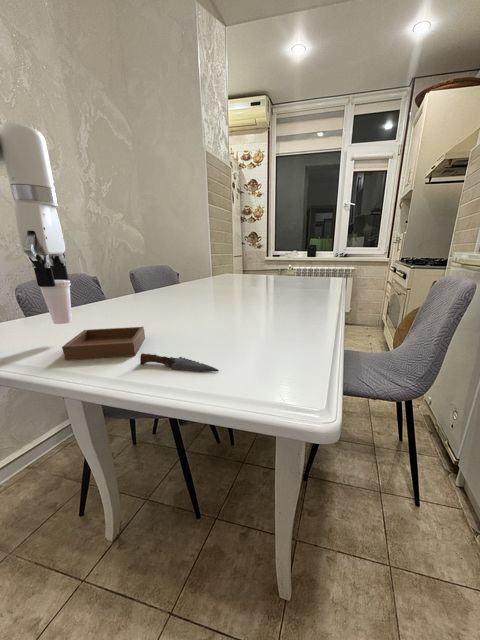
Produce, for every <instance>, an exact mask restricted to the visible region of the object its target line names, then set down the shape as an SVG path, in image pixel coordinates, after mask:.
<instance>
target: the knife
mask: <svg viewBox="0 0 480 640" xmlns="http://www.w3.org/2000/svg"><path fill="white" fill-rule="evenodd" d="M139 358H140V359H139V363H140V365H144V364H147V363H157V364H162V365H164V366H166V367H170V368H171V370H178V371H181V370H182V371H195V372H201V373H202V372H209V373H210V372H219V369H218V368H216V367H213V366H210V365H208V364H205V363H200V362H199V361H196V360H192V359H189V358H186V357H182V356H179V357H172V356H170V357H168V356H160V355H158V354H156V353H155V354H152V353H143V352H141V354H140V356H139Z"/></svg>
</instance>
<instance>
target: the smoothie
mask: <svg viewBox="0 0 480 640" xmlns="http://www.w3.org/2000/svg"><path fill="white" fill-rule="evenodd" d="M49 268H50V266H49ZM54 281H55V286H54V287H39V286H38V285H37V287H38V288H39V289H40V291H41V294H42V297H43V299H44V302H45V305H46V307H47V310H48V312H49V315H50V317H51V320H52V323H53V324H55V325H63V324H70V323H72V322H73V321H72V303H71V287H70V286H71V285H72V284H71V280H54Z"/></svg>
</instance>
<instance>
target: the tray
mask: <svg viewBox="0 0 480 640" xmlns="http://www.w3.org/2000/svg"><path fill="white" fill-rule="evenodd" d="M145 339H146V335H145V327H144V326H132V327H129V326H128V327H111V328H90V329H84V330H82V331H81V332H79V333H78V334H77V335H75V336H74V337H73V338H71V339H70V340H69V341H68V342H67V343H65V344H63V346H61V349H62V353H63V357H64V360H65V361H76V360H77V361H78V360H79V361H80V360H93V359H107V358H121V357H122V358H123V357H136V355H137V353H138V352H139V350H140V348H141V346H142V345H143V343H144V341H145Z"/></svg>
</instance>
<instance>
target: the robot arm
mask: <svg viewBox="0 0 480 640" xmlns="http://www.w3.org/2000/svg"><path fill="white" fill-rule="evenodd" d="M49 155H50V154H49V150H48V145H47V141H46V138H45V136H44V135H43V134H42V132H40V131H39V130H38V129H36V128H34V127H31V126H29V125H25V124H20V123H16V122H15V123H14V122H3V123H1V124H0V170H1V169H5V171H6V173H7V174H6V175H7V179H8V182H9V185H10V190H11V195H12V197H13V203H14V214H15V215H14V216H15V222H16V228H17V235H18V239H19V244H20V248H21V252H23V253H24V254H26V256H28V259H29V261H30V262H31V267H32V268H33V271H34V275H35V280H36V283H37V287H38V286H39V287H38V288H40V287H54V286H55V281H54V280H69V275H68V270H67V266H66V265H67V262H66V255H65V253H66V243H65V237H64V233H63V229H62V225H61V221H60V217H59V214H58V211H57V208H59V202H58V196H57V192H56V186H55V181H54V177H53V172H52V171H53V170H52V166H51V161H50V160H51V159H50V156H49ZM50 264H51V265H50ZM49 267H50V268H49ZM69 281H70V280H69Z"/></svg>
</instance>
